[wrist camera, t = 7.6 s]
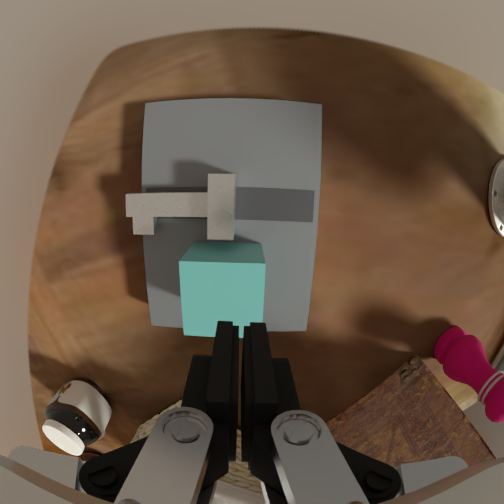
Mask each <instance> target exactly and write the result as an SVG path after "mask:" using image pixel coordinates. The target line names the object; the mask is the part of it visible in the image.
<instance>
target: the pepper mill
mask: <svg viewBox="0 0 504 504" xmlns="http://www.w3.org/2000/svg"><path fill="white" fill-rule="evenodd" d="M434 356H435V358H436V359H437V360H438V361H439V362H440V363H441V364H443V370H444V373H445V374H446V375H447V376H448V377H449V378H451V379H452V380H455V381H457V382H461V383H465V384H467V385H469V386H471V387H472V388H473V389H474V390H475V391H476V392H477V394H478V401H480V402H481V404H482V405H485V406H486V407H485V413H486V416H487V417H488V418H489V420H491V421H492V422H496V423H498V422H502V421H504V374H503V372H502V371H496V370H495V369H493V367H492V366H491V365H490V364H489V362H488V361H487V358H486V356H485V352H484V349H483V346H482V344H481V343H480V341H479V340H478V339H477V338H476V337H475V336H473V335H466V333H465V332H464V331H463V330H462V329H461V328H459V327H452V328H449V329H448V330H447V331H445V332H444V333H443V334H442V335H441V337H440V338H439V339H438V341H437V343H436V345H435V348H434Z"/></svg>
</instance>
